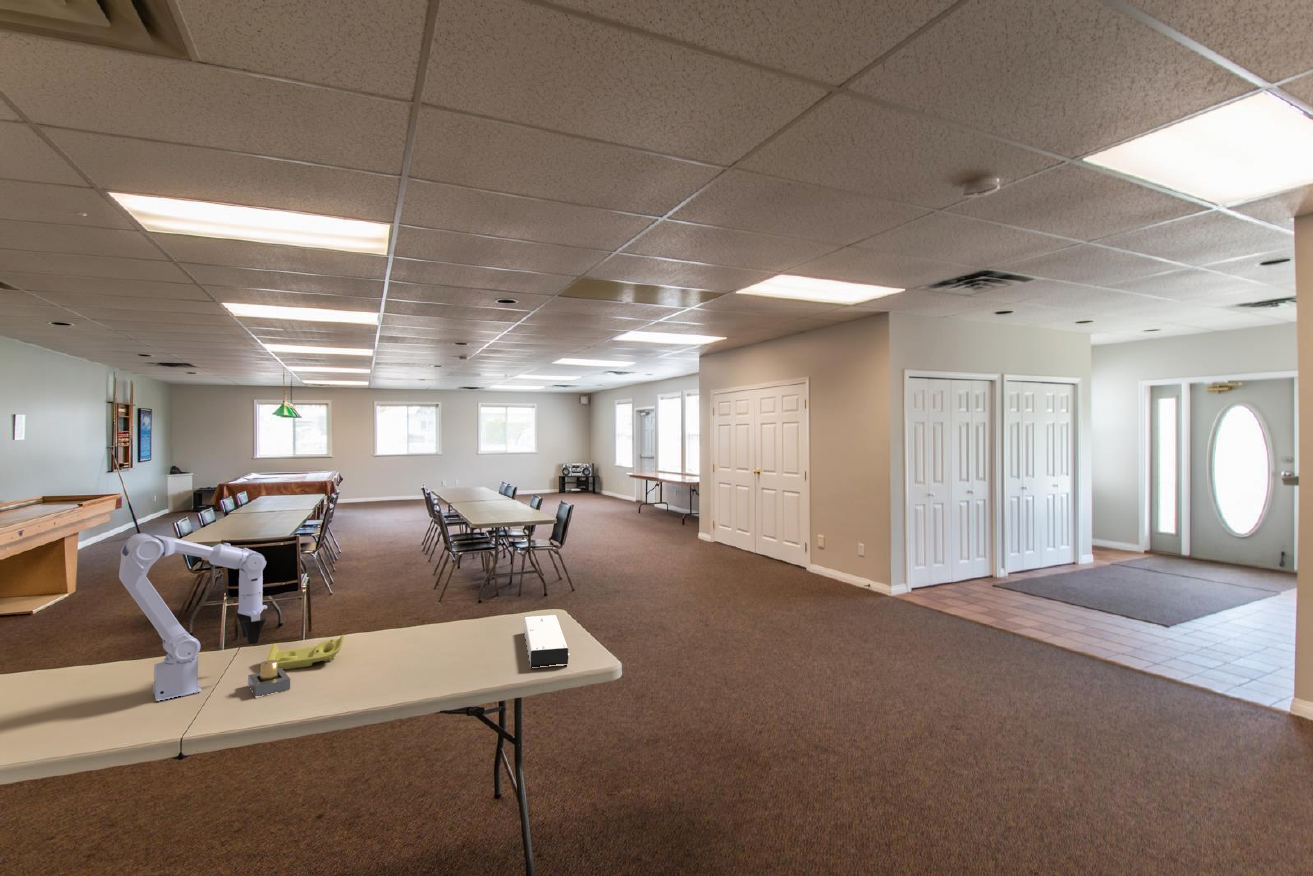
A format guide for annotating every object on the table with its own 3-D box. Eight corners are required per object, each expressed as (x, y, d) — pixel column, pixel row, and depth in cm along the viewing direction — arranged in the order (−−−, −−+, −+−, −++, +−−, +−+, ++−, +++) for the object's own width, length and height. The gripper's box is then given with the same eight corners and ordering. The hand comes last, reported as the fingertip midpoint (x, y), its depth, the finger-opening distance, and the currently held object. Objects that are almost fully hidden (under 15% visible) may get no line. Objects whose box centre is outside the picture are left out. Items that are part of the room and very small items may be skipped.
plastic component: (264, 665, 179) (274, 639, 188) (270, 683, 182) (279, 657, 191) (339, 655, 184) (345, 630, 192) (343, 672, 187) (349, 648, 196)
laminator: (524, 634, 218) (524, 616, 218) (559, 631, 221) (559, 614, 221) (530, 671, 185) (530, 650, 185) (571, 667, 188) (571, 647, 188)
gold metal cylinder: (260, 692, 166) (260, 666, 166) (259, 687, 169) (260, 661, 169) (278, 689, 168) (278, 663, 168) (276, 683, 172) (277, 658, 172)
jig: (255, 698, 163) (255, 687, 162) (248, 686, 170) (248, 675, 170) (290, 689, 168) (290, 678, 168) (281, 678, 175) (281, 667, 175)
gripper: (272, 596, 175) (272, 643, 175) (261, 585, 185) (261, 630, 186) (243, 600, 170) (242, 649, 170) (233, 589, 181) (233, 635, 181)
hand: (250, 640), depth 178 cm, fingers open, 7 cm apart
